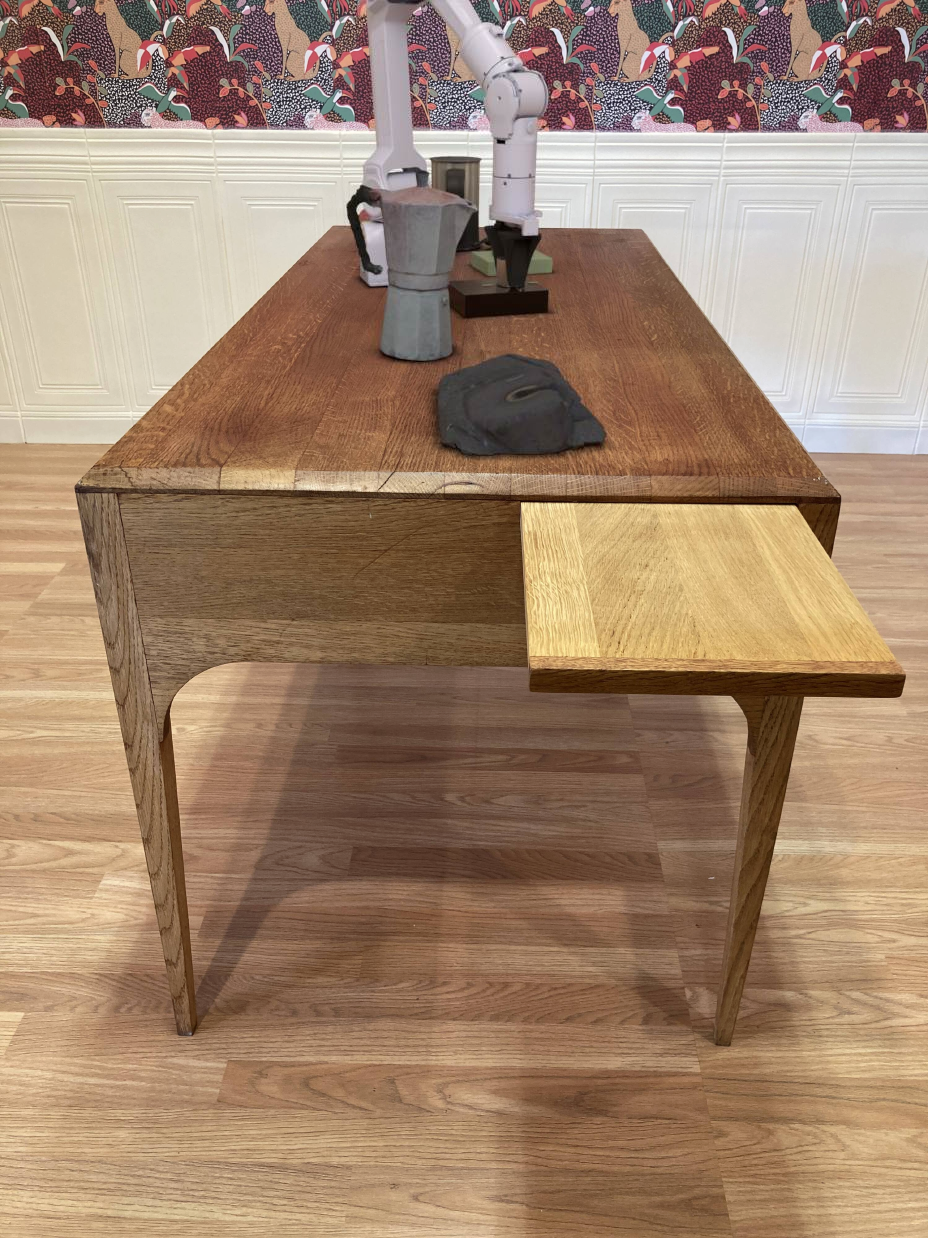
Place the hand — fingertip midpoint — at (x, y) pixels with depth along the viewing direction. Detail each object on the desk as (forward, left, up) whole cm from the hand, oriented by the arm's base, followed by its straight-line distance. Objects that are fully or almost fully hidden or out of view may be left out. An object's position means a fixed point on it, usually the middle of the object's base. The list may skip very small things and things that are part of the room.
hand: (510, 282), depth 134 cm
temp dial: (0, 0, 0) cm, 0 cm away
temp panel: (-2, 0, -3) cm, 4 cm away
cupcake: (-7, +51, -3) cm, 52 cm away
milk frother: (+9, +44, -3) cm, 45 cm away
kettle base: (+9, +25, -3) cm, 27 cm away
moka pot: (-19, -19, -3) cm, 27 cm away
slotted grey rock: (-15, -44, -3) cm, 47 cm away
